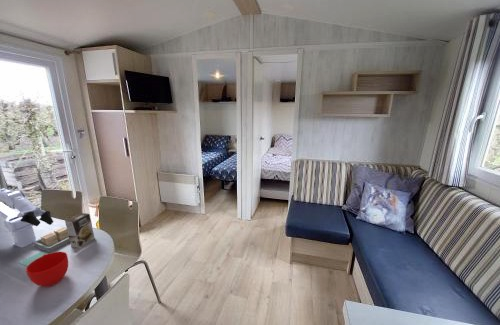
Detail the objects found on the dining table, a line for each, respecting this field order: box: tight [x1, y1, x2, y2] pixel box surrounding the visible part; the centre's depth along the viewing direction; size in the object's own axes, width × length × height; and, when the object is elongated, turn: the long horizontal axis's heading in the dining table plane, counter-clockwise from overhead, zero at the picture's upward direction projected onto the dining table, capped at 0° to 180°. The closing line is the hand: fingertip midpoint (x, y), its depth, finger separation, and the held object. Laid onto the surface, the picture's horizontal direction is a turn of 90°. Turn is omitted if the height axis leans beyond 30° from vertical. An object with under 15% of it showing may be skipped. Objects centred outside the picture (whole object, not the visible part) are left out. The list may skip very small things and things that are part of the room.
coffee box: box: [64, 212, 96, 248], centre depth 117 cm, size 9×6×16 cm
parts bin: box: [32, 238, 70, 253], centre depth 119 cm, size 14×14×3 cm
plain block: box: [53, 226, 69, 242], centre depth 121 cm, size 5×5×6 cm
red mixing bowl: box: [25, 251, 69, 288], centre depth 93 cm, size 13×17×10 cm
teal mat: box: [18, 250, 49, 268], centre depth 106 cm, size 9×9×1 cm
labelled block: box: [40, 232, 58, 247], centre depth 116 cm, size 5×5×6 cm
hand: (45, 223), depth 110 cm, fingers open, 7 cm apart
